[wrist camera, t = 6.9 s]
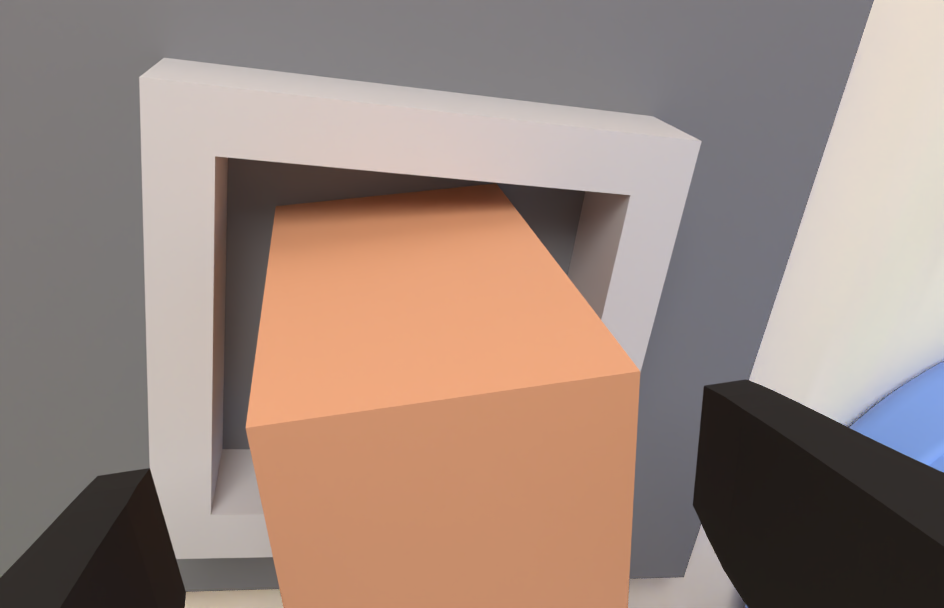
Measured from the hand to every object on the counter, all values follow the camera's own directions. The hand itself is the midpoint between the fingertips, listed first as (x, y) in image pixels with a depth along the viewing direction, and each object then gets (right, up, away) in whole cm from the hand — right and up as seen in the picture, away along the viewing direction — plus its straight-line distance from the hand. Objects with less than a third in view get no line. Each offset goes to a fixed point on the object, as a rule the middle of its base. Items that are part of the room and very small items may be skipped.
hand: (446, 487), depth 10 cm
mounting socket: (-1, +3, +6) cm, 7 cm away
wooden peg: (-1, +3, +5) cm, 6 cm away
